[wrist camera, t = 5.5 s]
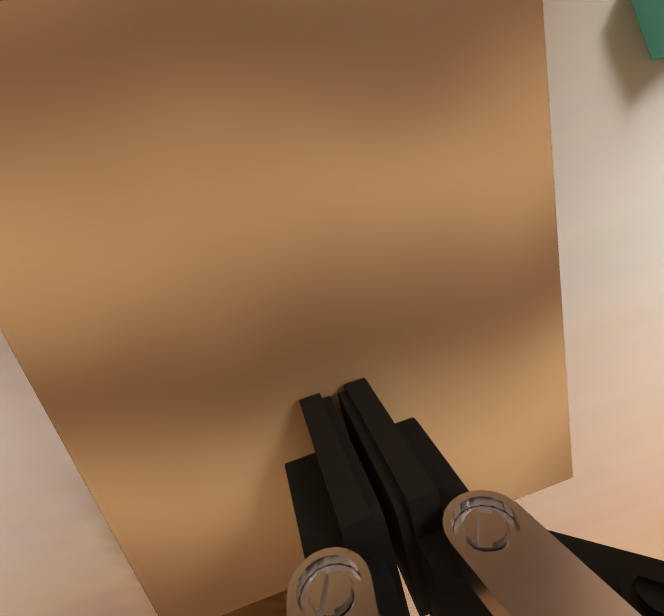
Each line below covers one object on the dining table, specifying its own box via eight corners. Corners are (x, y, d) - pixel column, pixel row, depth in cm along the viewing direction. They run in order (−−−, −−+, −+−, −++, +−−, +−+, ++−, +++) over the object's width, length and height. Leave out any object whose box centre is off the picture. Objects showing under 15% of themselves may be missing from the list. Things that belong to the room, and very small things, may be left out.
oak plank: (-79, 62, 9) (-164, 32, 7) (479, -54, 10) (536, -104, 8) (177, 571, 13) (169, 635, 12) (530, 438, 15) (572, 477, 13)
